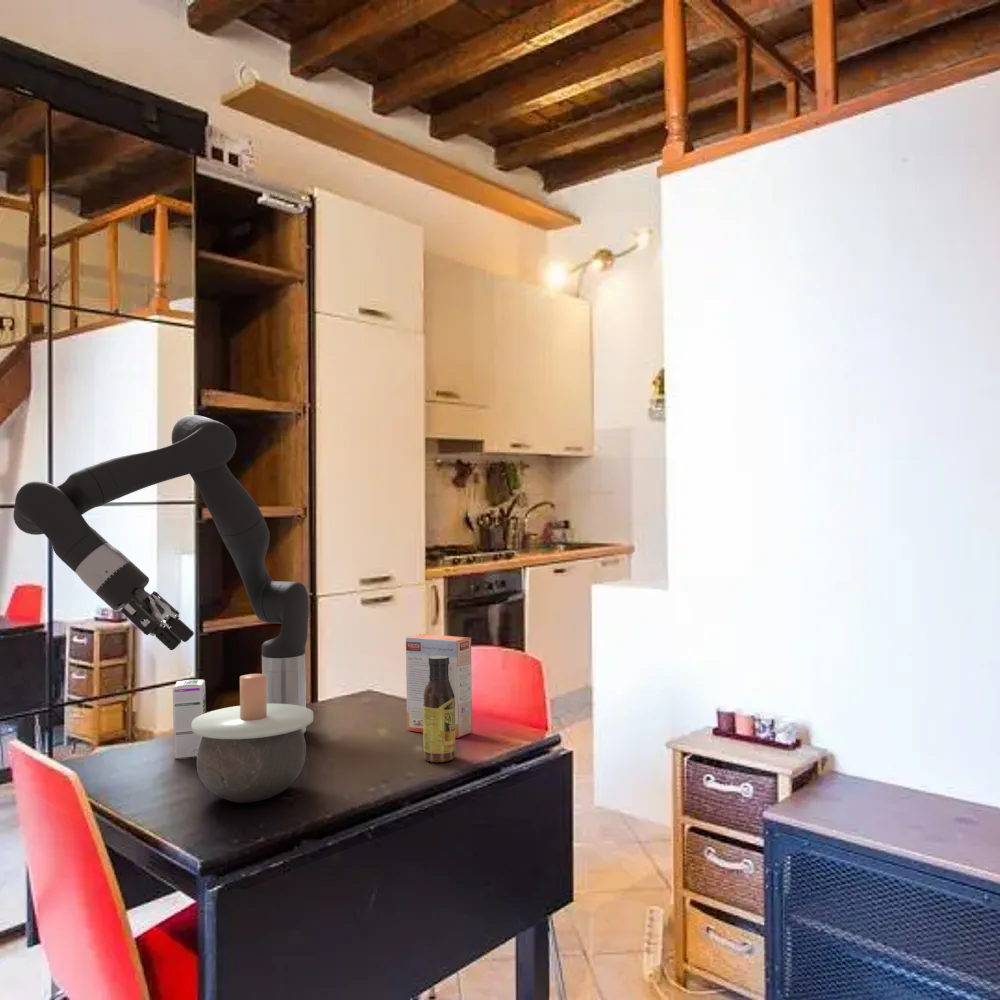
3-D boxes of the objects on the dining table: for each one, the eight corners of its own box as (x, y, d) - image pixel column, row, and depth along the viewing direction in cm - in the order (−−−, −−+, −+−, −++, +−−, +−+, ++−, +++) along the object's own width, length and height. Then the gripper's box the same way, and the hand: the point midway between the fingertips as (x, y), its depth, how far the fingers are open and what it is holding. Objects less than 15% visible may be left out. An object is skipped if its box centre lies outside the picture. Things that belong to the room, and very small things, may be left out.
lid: (168, 725, 143) (168, 678, 143) (269, 703, 158) (269, 661, 158) (233, 746, 130) (233, 694, 130) (337, 720, 145) (336, 674, 145)
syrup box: (204, 756, 167) (203, 684, 167) (172, 759, 166) (172, 685, 166) (207, 748, 173) (206, 678, 173) (176, 751, 171) (175, 680, 171)
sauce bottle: (450, 764, 160) (449, 660, 160) (419, 763, 161) (418, 659, 161) (459, 754, 166) (458, 654, 166) (429, 753, 167) (427, 653, 168)
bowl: (173, 808, 138) (172, 732, 138) (242, 775, 155) (242, 707, 155) (264, 821, 132) (263, 741, 132) (326, 785, 149) (325, 714, 149)
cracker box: (473, 732, 182) (472, 636, 182) (457, 739, 177) (456, 640, 177) (422, 724, 190) (421, 632, 190) (405, 730, 184) (404, 635, 185)
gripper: (114, 563, 134) (189, 632, 136) (141, 557, 148) (209, 620, 150) (80, 597, 134) (155, 666, 135) (110, 588, 148) (178, 651, 149)
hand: (183, 642), depth 142 cm, fingers open, 8 cm apart
